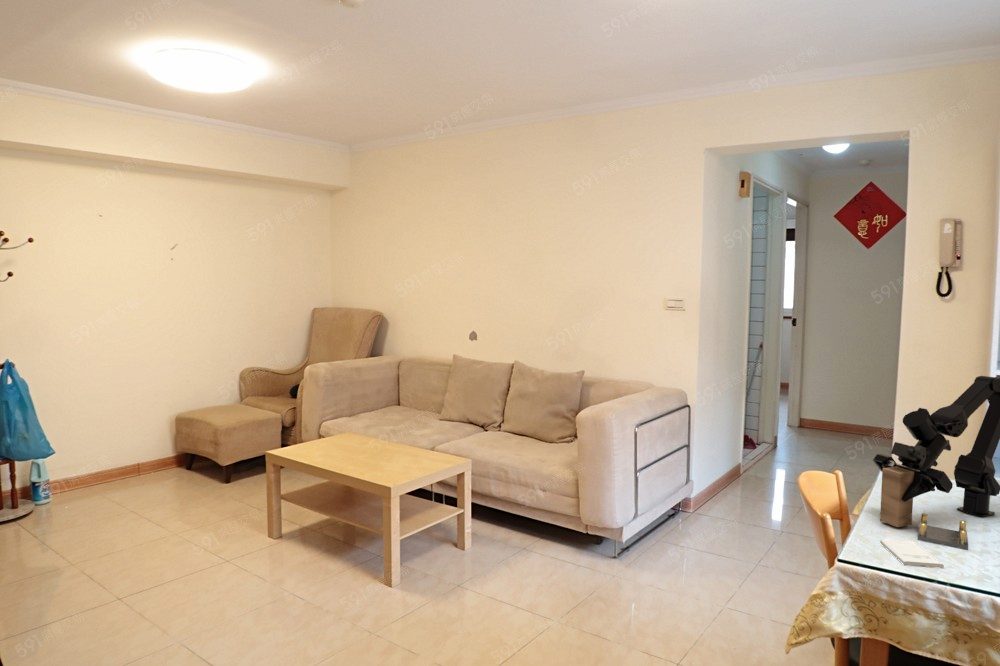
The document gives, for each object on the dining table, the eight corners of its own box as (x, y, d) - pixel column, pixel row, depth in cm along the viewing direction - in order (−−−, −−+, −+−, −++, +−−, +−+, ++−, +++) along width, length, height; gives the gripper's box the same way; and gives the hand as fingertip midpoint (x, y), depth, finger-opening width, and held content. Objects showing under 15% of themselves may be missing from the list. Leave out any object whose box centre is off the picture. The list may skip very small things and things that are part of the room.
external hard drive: (916, 548, 154) (943, 570, 141) (879, 545, 155) (903, 567, 143) (916, 541, 154) (944, 563, 141) (880, 538, 155) (904, 560, 143)
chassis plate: (919, 527, 165) (920, 512, 165) (966, 536, 160) (967, 521, 159) (917, 539, 157) (918, 523, 157) (967, 549, 152) (968, 533, 151)
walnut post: (893, 517, 170) (896, 466, 169) (911, 524, 165) (914, 471, 164) (880, 520, 168) (882, 468, 167) (897, 527, 164) (900, 473, 162)
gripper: (879, 424, 175) (847, 467, 172) (947, 440, 158) (912, 488, 155) (899, 450, 178) (867, 493, 175) (967, 468, 161) (933, 516, 158)
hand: (893, 496), depth 166 cm, fingers closed on walnut post, 5 cm apart
